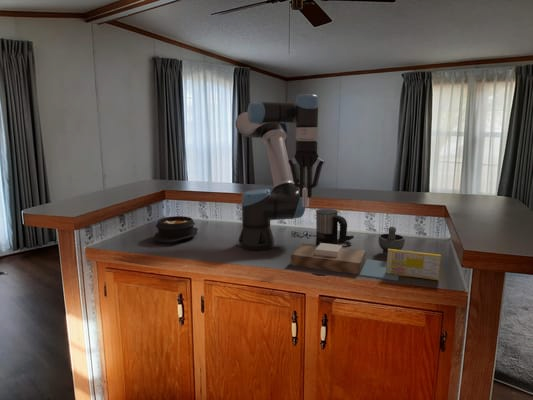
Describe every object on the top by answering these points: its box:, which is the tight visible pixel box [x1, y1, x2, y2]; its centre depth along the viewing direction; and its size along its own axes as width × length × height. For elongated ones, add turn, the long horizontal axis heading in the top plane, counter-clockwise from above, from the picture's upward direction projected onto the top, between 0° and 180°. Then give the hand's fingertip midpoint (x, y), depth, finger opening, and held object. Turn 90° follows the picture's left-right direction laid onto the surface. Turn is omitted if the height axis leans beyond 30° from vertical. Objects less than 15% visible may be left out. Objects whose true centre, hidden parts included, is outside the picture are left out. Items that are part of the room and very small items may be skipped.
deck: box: [290, 243, 367, 275], centre depth 138 cm, size 24×14×4 cm, turn 68°
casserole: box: [151, 215, 199, 243], centre depth 170 cm, size 25×19×8 cm
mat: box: [359, 258, 400, 282], centre depth 131 cm, size 12×16×1 cm
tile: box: [315, 243, 344, 257], centre depth 137 cm, size 8×8×2 cm
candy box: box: [386, 249, 442, 281], centre depth 124 cm, size 16×2×8 cm, turn 71°
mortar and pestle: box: [378, 226, 406, 257], centre depth 146 cm, size 11×9×12 cm
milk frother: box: [314, 208, 355, 245], centre depth 159 cm, size 14×16×15 cm
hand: (305, 206), depth 138 cm, fingers closed
